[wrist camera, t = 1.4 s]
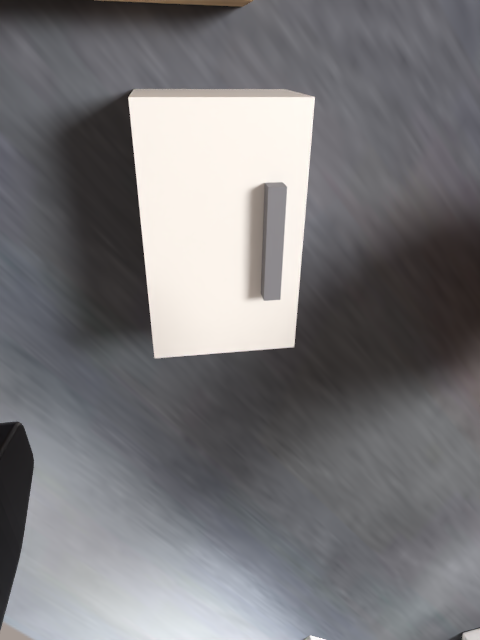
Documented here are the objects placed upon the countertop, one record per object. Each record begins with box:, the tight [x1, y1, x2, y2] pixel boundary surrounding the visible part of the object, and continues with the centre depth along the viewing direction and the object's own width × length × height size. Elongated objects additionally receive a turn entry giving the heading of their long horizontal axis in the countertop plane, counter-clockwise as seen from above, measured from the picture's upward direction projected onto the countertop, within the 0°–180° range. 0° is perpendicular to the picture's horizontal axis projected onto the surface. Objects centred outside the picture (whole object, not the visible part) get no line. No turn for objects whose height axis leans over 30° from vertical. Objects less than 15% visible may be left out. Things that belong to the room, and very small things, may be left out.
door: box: [128, 89, 315, 358], centre depth 17 cm, size 6×9×5 cm, turn 179°
